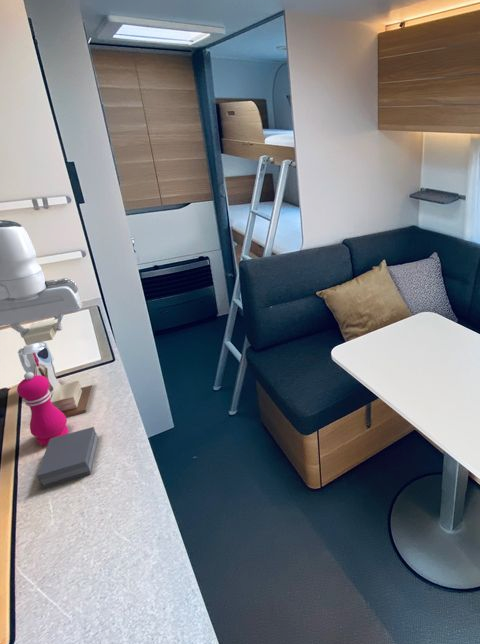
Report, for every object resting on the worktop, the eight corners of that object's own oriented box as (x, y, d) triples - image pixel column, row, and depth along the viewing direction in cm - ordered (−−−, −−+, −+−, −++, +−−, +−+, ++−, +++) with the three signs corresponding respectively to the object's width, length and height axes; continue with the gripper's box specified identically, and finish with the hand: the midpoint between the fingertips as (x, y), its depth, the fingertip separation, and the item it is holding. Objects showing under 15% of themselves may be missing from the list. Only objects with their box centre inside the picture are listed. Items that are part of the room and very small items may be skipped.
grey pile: (42, 491, 90) (36, 476, 88) (55, 452, 100) (49, 438, 98) (92, 476, 93) (86, 461, 91) (99, 440, 103) (94, 426, 102)
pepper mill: (49, 452, 100) (21, 385, 92) (29, 444, 102) (0, 378, 95) (78, 431, 106) (53, 367, 99) (59, 425, 109) (33, 361, 101)
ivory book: (26, 345, 102) (22, 337, 101) (34, 330, 109) (32, 323, 108) (52, 339, 104) (49, 332, 103) (59, 326, 111) (56, 318, 110)
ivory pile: (42, 425, 108) (36, 410, 107) (53, 398, 119) (47, 384, 117) (86, 414, 112) (81, 399, 110) (93, 389, 122) (88, 375, 120)
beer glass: (45, 400, 118) (27, 356, 112) (28, 395, 120) (10, 352, 114) (68, 386, 124) (53, 343, 118) (52, 381, 126) (36, 339, 120)
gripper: (75, 272, 108) (91, 319, 113) (-24, 287, 100) (-2, 336, 105) (71, 281, 102) (87, 329, 108) (-34, 297, 95) (-11, 348, 100)
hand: (42, 333), depth 106 cm, fingers closed on ivory book, 5 cm apart
